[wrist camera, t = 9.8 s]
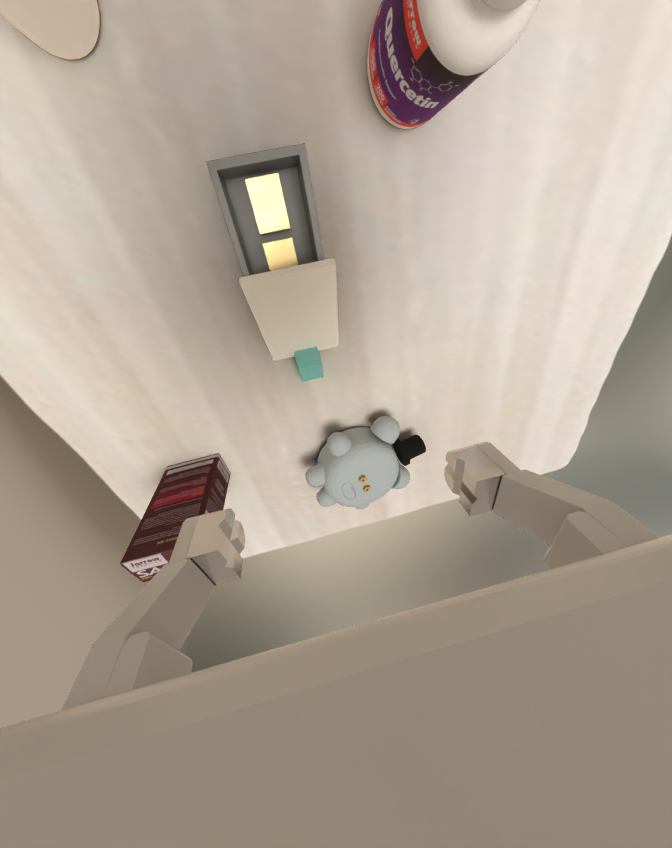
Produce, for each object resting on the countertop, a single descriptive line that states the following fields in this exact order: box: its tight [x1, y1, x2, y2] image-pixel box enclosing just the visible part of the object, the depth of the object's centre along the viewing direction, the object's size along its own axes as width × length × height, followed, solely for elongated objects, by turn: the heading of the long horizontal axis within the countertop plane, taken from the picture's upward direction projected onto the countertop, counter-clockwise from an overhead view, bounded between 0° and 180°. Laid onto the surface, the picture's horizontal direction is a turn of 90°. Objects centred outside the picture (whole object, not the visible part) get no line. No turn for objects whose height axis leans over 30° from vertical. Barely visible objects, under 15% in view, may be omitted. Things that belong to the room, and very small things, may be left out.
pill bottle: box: [367, 0, 540, 129], centre depth 18 cm, size 8×8×14 cm
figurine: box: [305, 416, 426, 509], centre depth 45 cm, size 17×8×20 cm
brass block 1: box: [245, 173, 290, 235], centre depth 26 cm, size 4×3×2 cm
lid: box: [239, 258, 339, 381], centre depth 30 cm, size 14×9×4 cm
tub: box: [206, 143, 324, 277], centre depth 27 cm, size 11×8×4 cm
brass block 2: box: [263, 238, 298, 271], centre depth 28 cm, size 4×3×2 cm
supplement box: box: [120, 454, 230, 582], centre depth 37 cm, size 9×5×16 cm, turn 100°
